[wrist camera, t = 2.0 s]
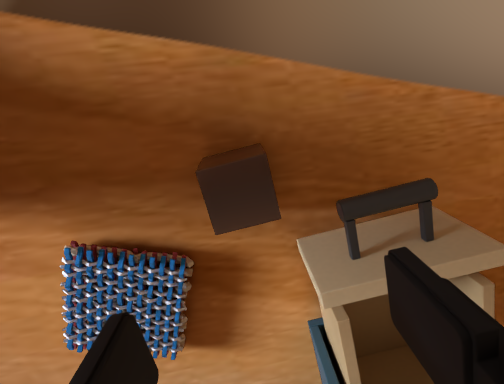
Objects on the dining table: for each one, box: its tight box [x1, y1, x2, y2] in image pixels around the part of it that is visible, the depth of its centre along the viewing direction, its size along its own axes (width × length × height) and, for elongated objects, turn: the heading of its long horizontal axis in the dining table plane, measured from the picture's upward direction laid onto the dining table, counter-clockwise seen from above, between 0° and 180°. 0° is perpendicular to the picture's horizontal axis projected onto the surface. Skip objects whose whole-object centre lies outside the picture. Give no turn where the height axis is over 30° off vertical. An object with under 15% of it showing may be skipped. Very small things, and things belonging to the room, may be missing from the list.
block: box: [196, 143, 281, 235], centre depth 22 cm, size 5×5×5 cm
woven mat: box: [60, 241, 194, 360], centre depth 25 cm, size 10×11×2 cm
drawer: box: [297, 178, 504, 384], centre depth 22 cm, size 18×11×7 cm, turn 14°
